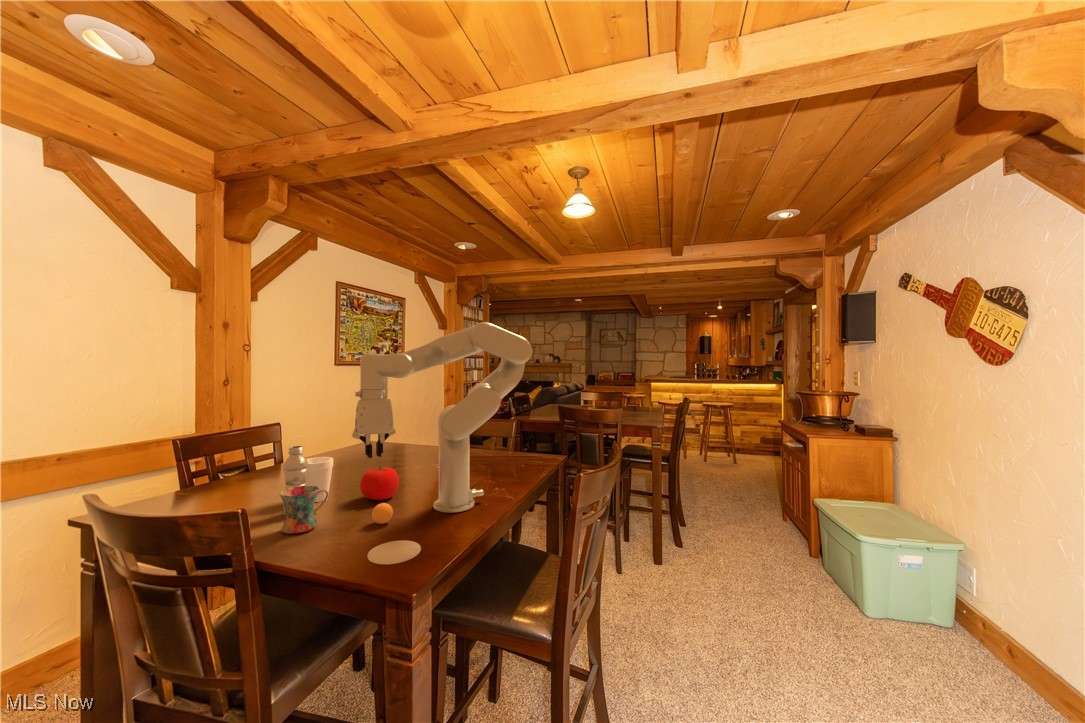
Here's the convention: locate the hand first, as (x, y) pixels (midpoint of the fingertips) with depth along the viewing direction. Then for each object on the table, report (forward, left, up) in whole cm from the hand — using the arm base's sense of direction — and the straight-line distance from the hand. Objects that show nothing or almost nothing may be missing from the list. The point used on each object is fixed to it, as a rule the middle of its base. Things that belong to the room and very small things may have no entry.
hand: (374, 456), depth 124 cm
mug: (+18, 0, -17) cm, 25 cm away
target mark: (+3, +29, -17) cm, 34 cm away
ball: (0, +9, -14) cm, 17 cm away
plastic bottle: (+19, -13, -17) cm, 29 cm away
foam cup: (+12, -24, -17) cm, 32 cm away
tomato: (-5, -13, -17) cm, 22 cm away
